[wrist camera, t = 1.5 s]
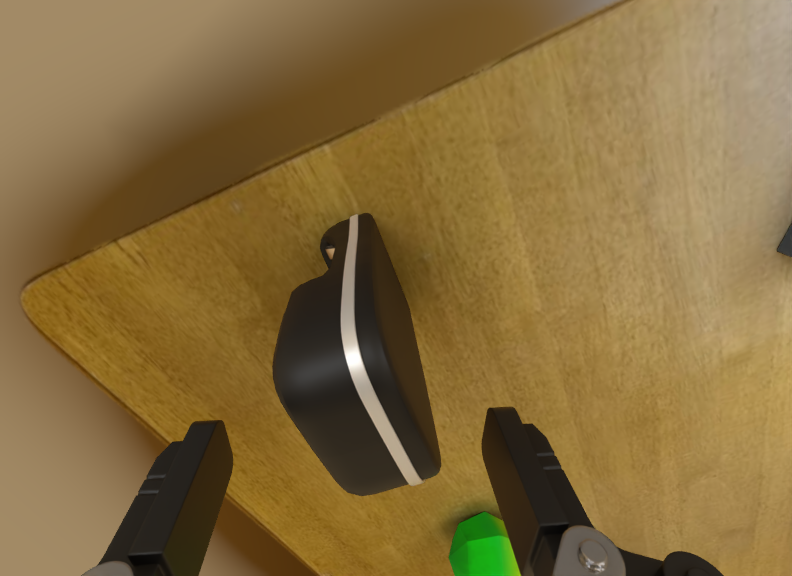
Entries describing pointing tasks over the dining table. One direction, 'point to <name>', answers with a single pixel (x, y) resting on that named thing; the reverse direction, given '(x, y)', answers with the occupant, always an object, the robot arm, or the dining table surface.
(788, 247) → the switch box
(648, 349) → the dining table surface
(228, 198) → the dining table surface
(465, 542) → the apple
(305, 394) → the battery charger
